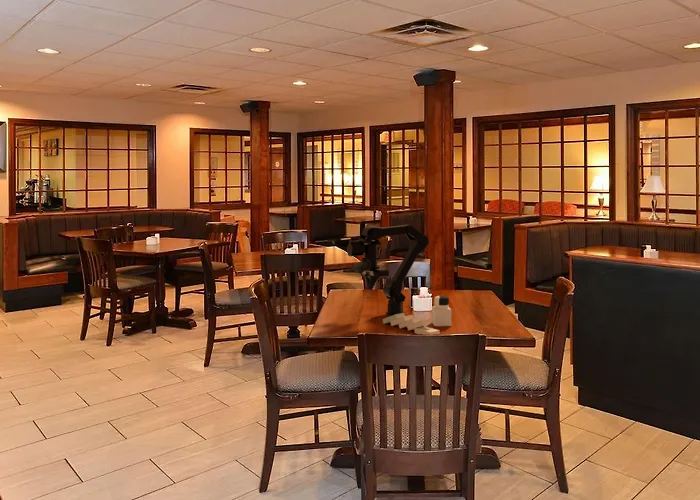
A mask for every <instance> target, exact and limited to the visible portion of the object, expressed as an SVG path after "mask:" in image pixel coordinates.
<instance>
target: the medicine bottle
mask: <svg viewBox="0 0 700 500" xmlns="http://www.w3.org/2000/svg"><path fill="white" fill-rule="evenodd" d="M433 301H434V305H432V306H431V324H432V325H433V326H434V327H452V308H450V307H449V306H450V297H449V296H446V295H437V296H435V297H434V300H433Z"/></svg>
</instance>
